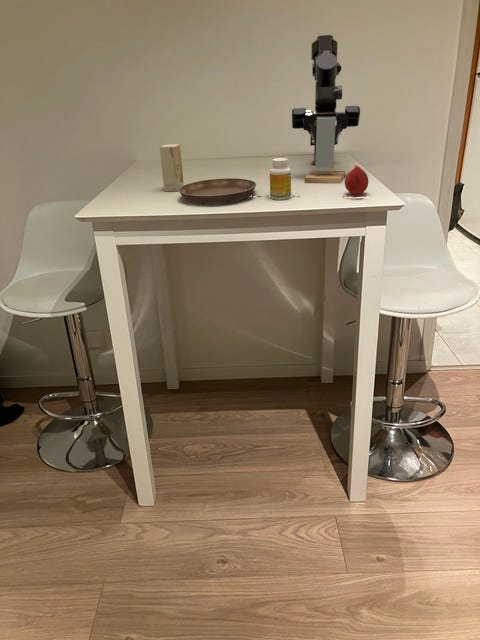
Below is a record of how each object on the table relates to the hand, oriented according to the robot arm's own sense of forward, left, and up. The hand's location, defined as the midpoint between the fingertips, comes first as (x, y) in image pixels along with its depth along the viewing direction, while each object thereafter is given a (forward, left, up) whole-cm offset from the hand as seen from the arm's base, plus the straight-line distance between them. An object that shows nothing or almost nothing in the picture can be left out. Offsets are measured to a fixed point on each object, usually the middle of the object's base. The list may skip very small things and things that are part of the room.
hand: (325, 142), depth 145 cm
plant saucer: (+19, -26, -12) cm, 34 cm away
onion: (+17, +10, -11) cm, 22 cm away
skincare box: (+10, -42, -11) cm, 45 cm away
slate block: (-1, 0, -7) cm, 7 cm away
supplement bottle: (+19, -9, -11) cm, 24 cm away
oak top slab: (-1, 0, -10) cm, 11 cm away
